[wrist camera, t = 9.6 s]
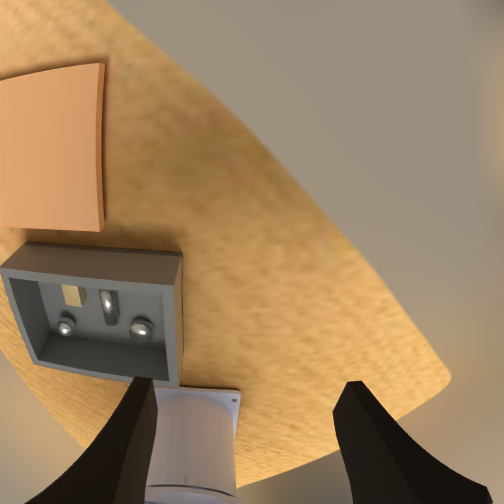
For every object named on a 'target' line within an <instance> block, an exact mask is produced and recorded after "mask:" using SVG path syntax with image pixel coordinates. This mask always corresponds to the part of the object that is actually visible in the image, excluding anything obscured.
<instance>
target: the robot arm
mask: <svg viewBox="0 0 504 504" xmlns="http://www.w3.org/2000/svg"><path fill="white" fill-rule="evenodd" d="M240 400H241V392H240V391H237V390H221V389H202V388H188V387H179V388H173V387H163V386H154V384H153V378H147V377H139V376H136V377H134V378H133V380H132V382H131V384H130V386H129V388H128V390H127V391H126V393H125V395H124V397H123V398H122V400H121V402H120V403H119V405H118V406H117V408H116V410H115V411H114V413H113V414H112V416H111V417H110V419H109V420H108V422H107V423H106V425H105V426H104V427H103V429H102V430H101V431H100V433H99V434H98V435H97V437H96V438H95V439H94V441H93V442H92V443H91V444H90V446H89V447H88V448H87V449H86V450H85V452H84V453H83V454H82V455H81V456H80V457H79V458H78V459H77V460H76V461H75V462H74V463H73V465H72V466H70V467H69V468H68V469H67V471H65V472H64V473H63V474H62V475H61V476H60V477H59V478H58V479H57V480H55V481H54V482H53V483H52V484H51V485H49V486H48V487H47V488H46V489H45V490H43V491H42V492H41V493H39V494H38V495H37V496H35V497H33V498H32V499H30V500H29V501H28V502H26V503H25V504H245V503H244V498H237V494H236V493H237V492H236V472H235V450H234V440H235V433H236V427H237V420H238V413H239V407H240ZM333 419H334V426H335V432H336V436H337V440H338V443H339V447H340V450H341V454H342V457H343V460H344V463H345V467H346V471H347V474H348V477H349V481H350V486H351V491H352V498H353V504H492V503H493V501H492V498H491V496H490V493H489V491H488V490H487V487H486V486H483V485H481V484H479V483H476V482H474V481H472V480H470V479H468V478H466V477H464V476H462V475H460V474H458V473H457V472H455V471H453V470H452V469H450V468H449V467H447V466H446V465H444V464H442V463H441V462H440V461H438V460H437V459H435V458H434V457H433V456H432V455H430V454H429V453H428V452H427V451H426V450H424V449H423V448H422V447H421V446H420V445H419V444H417V443H416V442H415V441H414V440H413V439H412V438H411V437H410V436H409V435H408V434H407V433H406V432H405V431H404V430H403V429H402V428H401V427H400V426H399V425H398V423H397V422H396V421H395V420H394V419H393V418H392V417H391V415H390V414H389V413H388V412H387V411H386V410H385V409H384V407H383V406H382V405H381V404H380V402H379V401H378V400H377V399H376V398H375V396H374V395H373V394H372V393H371V392H370V390H369V389H368V388H367V387H366V385H365V384H364V383H363V382H362V381H351V382H347V384H346V386H345V388H344V390H343V392H342V394H341V396H340V398H339V400H338V402H337V404H336V406H335V408H334V410H333Z"/></svg>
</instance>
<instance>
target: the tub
mask: <svg viewBox="0 0 504 504" xmlns="http://www.w3.org/2000/svg"><path fill="white" fill-rule="evenodd" d="M0 273H1V276H2V280H3V283H4V286H5V290H6V293H7V296H8V299H9V302H10V305H11V308H12V311H13V314H14V317H15V319H16V322H17V325H18V327H19V330H20V333H21V335H22V338H23V340H24V343H25V345H26V347H27V350H28V352H29V354H30V357H31V359H32V361H33V363H34V364H36V365H40V366H44V367H48V368H52V369H57V370H61V371H66V372H71V373H76V374H81V375H86V376H92V377H97V378H103V379H109V380H116V381H122V382H129V383H131V382H132V380H133V378H134V377H136V376H139V377H147V378H153V384H154V386H163V387H173V388H179V386H180V377H181V369H182V362H183V354H184V341H183V297H182V253H180V252H166V251H151V250H137V249H123V248H108V247H94V246H81V245H67V244H53V243H40V242H25V243H24V244H23V245H22V246H21V247H20V248H19V249H18V250H17V251H16V252H15V253H13V254H12V255H11V256H10V257H9V258H8V259H7V260H6V261H5V262H4V263H3V264H2V265H1V266H0Z"/></svg>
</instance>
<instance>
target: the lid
mask: <svg viewBox="0 0 504 504" xmlns="http://www.w3.org/2000/svg"><path fill="white" fill-rule="evenodd" d="M104 72H105V64H102V63H94V64H85V65H78V66H71V67H64V68H58V69H52V70H47V71H41V72H36V73H31V74H27V75H22V76H18V77H14V78H10V79H6V80H2V81H0V227H14V228H35V229H56V230H76V231H95V232H100V231H101V230H102V229H103V227H104V226H105V224H104V211H103V194H102V164H101V130H102V101H103V85H104Z"/></svg>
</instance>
